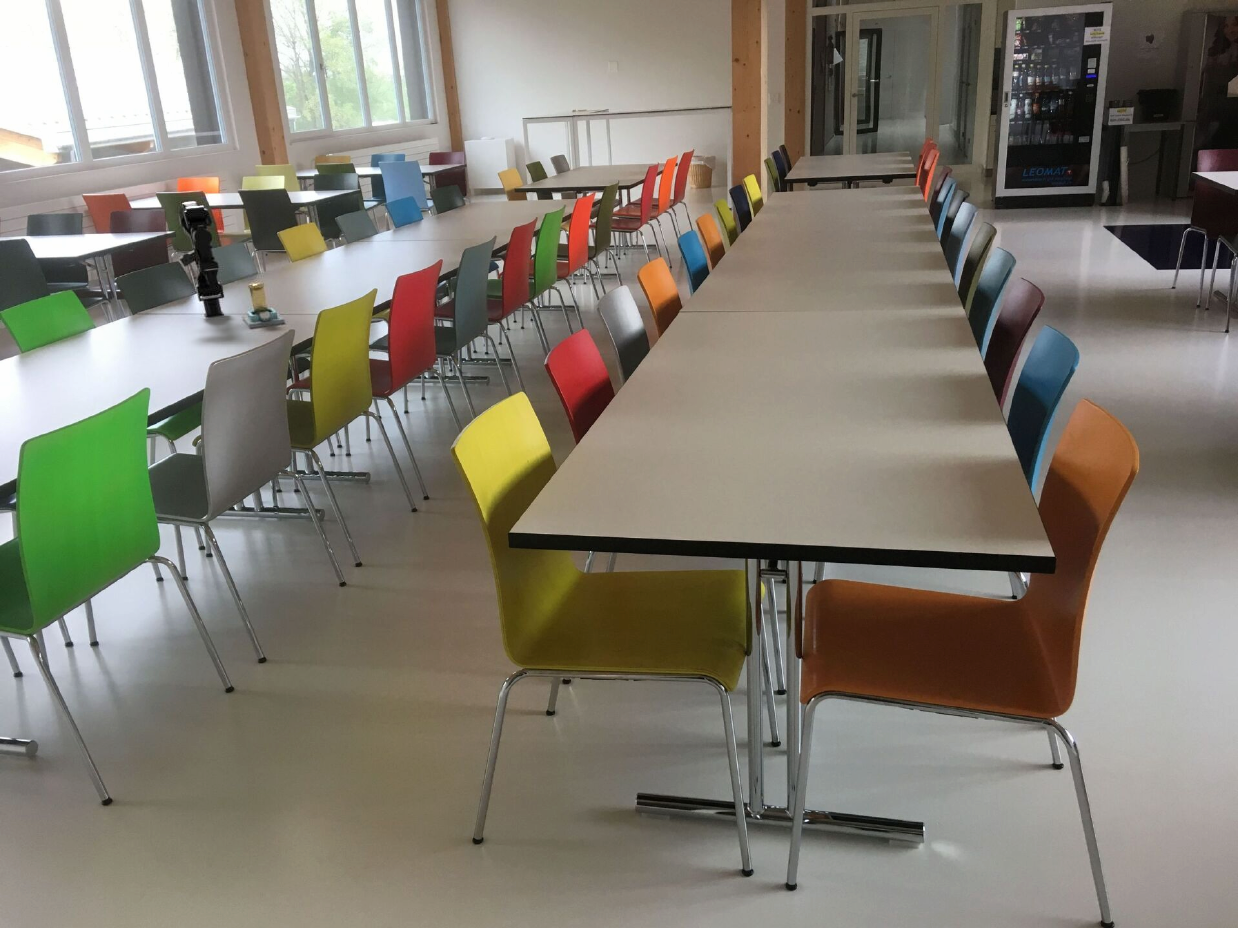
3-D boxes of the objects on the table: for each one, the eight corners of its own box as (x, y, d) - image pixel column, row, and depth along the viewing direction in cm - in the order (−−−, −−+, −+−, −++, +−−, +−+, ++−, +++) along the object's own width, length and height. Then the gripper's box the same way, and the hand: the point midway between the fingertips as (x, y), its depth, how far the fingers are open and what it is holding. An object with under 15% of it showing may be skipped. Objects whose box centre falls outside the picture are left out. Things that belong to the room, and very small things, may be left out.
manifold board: (242, 319, 353) (240, 307, 352) (276, 314, 358) (274, 302, 357) (249, 328, 338) (247, 316, 337) (284, 323, 343) (282, 310, 342)
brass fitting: (252, 319, 345) (245, 286, 341) (258, 316, 350) (251, 283, 346) (267, 318, 345) (260, 285, 341) (272, 315, 350) (266, 282, 346)
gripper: (175, 242, 346) (185, 286, 352) (179, 248, 331) (189, 293, 337) (208, 239, 351) (217, 281, 357) (214, 244, 336) (223, 289, 341)
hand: (211, 286), depth 348 cm, fingers open, 9 cm apart
